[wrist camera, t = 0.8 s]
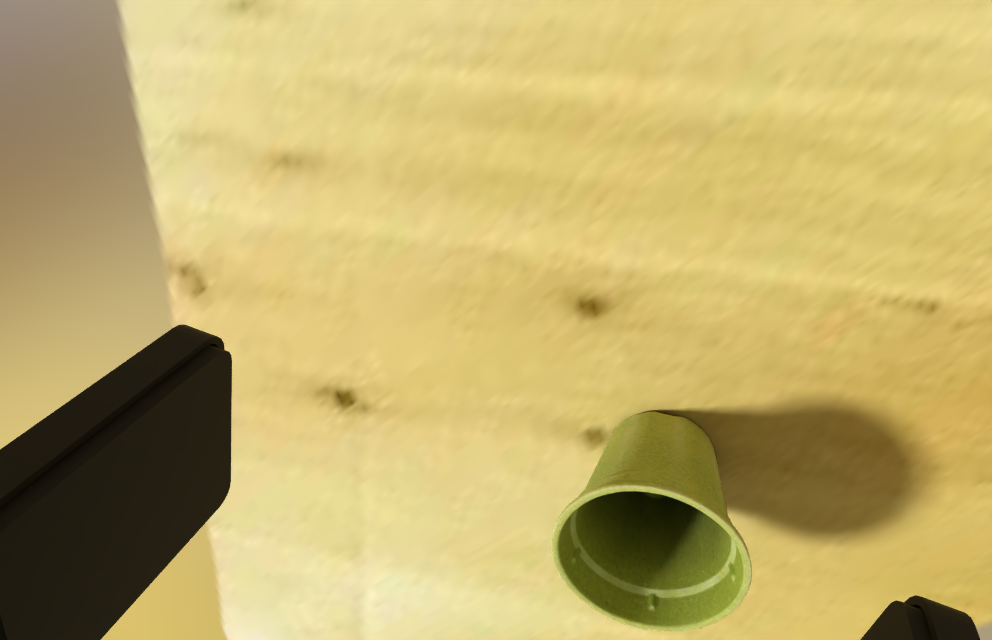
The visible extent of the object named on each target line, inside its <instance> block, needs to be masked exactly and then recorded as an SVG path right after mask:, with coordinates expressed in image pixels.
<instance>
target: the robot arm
mask: <svg viewBox="0 0 992 640" xmlns="http://www.w3.org/2000/svg"><path fill="white" fill-rule="evenodd" d="M231 395H232V358H231V354H230V353H229V352H228V351H225V350H224V343H223V341H222V339H221V338H219V337H217V336H214V335H211V334H209V333H206V332H203V331H200V330H198V329H195V328H192V327H190V326H187V325H178V326H176V327H174V328H172V329H171V330H170V331H168V332H167V333H165V334H164V335H163V336H161V337H160V338H158V339H157V340H155V341H154V342H153V343H151V344H150V345H148V346H147V347H145V348H144V349H143V350H141V351H140V352H138V353H137V354H136V355H134V356H133V357H131V358H130V359H128V360H127V361H126V362H124V363H123V364H121V365H120V366H119V367H117V368H116V369H114V370H113V371H111V372H110V373H108V374H107V375H106V376H104V377H103V378H101V379H100V380H99V381H97V382H96V383H94V384H93V385H91V386H90V387H89V388H87V389H86V390H84V391H83V392H81V393H80V394H79V395H77V396H76V397H74V398H73V399H71V400H70V401H69V402H68V403H66V404H65V405H63V406H62V407H60V408H59V409H57V410H56V411H54V412H53V413H52V414H50V415H49V416H47V417H46V418H45V419H43V420H42V421H40V422H39V423H37V424H36V425H34V426H33V427H32V428H30V429H29V430H27V431H26V432H25V433H23V434H22V435H20V436H19V437H17V438H16V439H15V440H13V441H12V442H10V443H9V444H8V445H6V446H5V447H3V448H2V449H0V640H100V639H102V637H103V636H104V635H105V634H106V633H107V632H108V631H109V629H110V628H111V627H112V626H113V625H114V624H115V623H116V622H117V620H119V618H120V617H121V616H122V615H123V614H124V613H125V612H126V611H127V610H128V608H129V607H130V606H131V605H132V604H133V603H134V602H135V601H136V599H137V598H138V597H139V596H140V595H141V594H142V593H143V592H144V591H145V589H146V588H147V587H148V586H149V585H150V584H151V583H152V582H153V581H154V579H155V578H156V577H157V576H158V575H159V574H160V573H161V572H162V570H163V569H164V568H165V567H166V566H167V565H168V564H169V563H170V562H171V560H172V559H173V558H174V557H175V556H176V555H177V553H179V551H180V550H181V549H182V548H183V547H184V546H185V545H186V544H187V543H188V542H189V540H190V539H191V538H192V537H193V536H194V535H195V534H196V533H197V531H198V530H199V529H200V528H201V527H202V526H203V525H204V524H205V523H206V521H207V520H208V519H209V518H210V517H211V516H212V515H213V514H214V513H215V511H216V510H217V509H218V508H219V507H220V506H221V504H222V503H223V501H224V500H225V498H226V496H227V494H228V491H229V488H230V483H231ZM861 640H980V638H979V635H978V632H977V629H976V626H975V624H974V622H973V620H972V619H971V617H969V616H968V615H967V614H966V613H964V612H961V611H959V610H956V609H953V608H950V607H948V606H945V605H942V604H940V603H937V602H934V601H931V600H929V599H926V598H923V597H920V596H913V597H910V598H909V599H908V600H906V601H905V602H904V603H903V602H900V601H894V602H892V603H891V604H890V605H889V606H888V607H887V608H886V609H885V610H884V612H883V613H882V614H881V615H880V617H879V618H878V619H877V620H876V621H875V623H874V624H873V625H872V626H871V628H870V629H869V630H868V631H867V632H866V634H865V635H864V636H863V637H862V639H861Z"/></svg>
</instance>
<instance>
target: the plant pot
mask: <svg viewBox="0 0 992 640" xmlns="http://www.w3.org/2000/svg"><path fill="white" fill-rule="evenodd" d="M552 556H553V560H554V563H555V566H556V568H557V570H558V572H559V574H560V576H561V577H562V579H563V581H564V582H565V584H566V585H567V586H568V588H569V589H570V590H571V591H572V592H573V593H574V594H575V595H576V596H578V597H579V598H580V599H581V600H582V601H583V602H584V603H586V604H587V605H588V606H590V607H591V608H593V609H594V610H596V611H598V612H600V613H601V614H603V615H605V616H607V617H609V618H611V619H613V620H615V621H618V622H620V623H623V624H626V625H629V626H633V627H636V628H640V629H644V630H652V631H671V632H675V631H689V630H694V629H699V628H702V627H704V626H708V625H711V624H714V623H716V622H718V621H720V620H721V619H723V618H724V617H726V616H728V615H729V614H731V613H732V612H733V611H734V610H735V609H736V608H737V607H738V606H739V605H740V604H741V602H742V601H743V599H744V597H745V596H746V594H747V592H748V590H749V586H750V583H751V577H752V567H751V561H750V557H749V553H748V550H747V547H746V545H745V543H744V541H743V539H742V537H741V536H740V534H739V533H738V531H737V530H736V529H735V527H734V526H733V525H732V523H731V521H730V519H729V517H728V514H727V509H726V504H725V500H724V494H723V489H722V485H721V480H720V475H719V469H718V464H717V460H716V455H715V451H714V448H713V445H712V443H711V441H710V439H709V437H708V436H707V435H706V433H705V432H704V431H703V430H702V429H701V428H700V427H698V426H697V425H696V424H695V423H693V422H691V421H690V420H688V419H686V418H684V417H678V416H671V415H666V414H662V413H658V412H644V413H640V414H637V415H634V416H632V417H630V418H628V419H626V420H625V421H623V422H622V423H621V424H619V425H618V426H617V427H616V428H615V430H614V431H613V433H612V435H611V436H610V439H609V441H608V443H607V445H606V447H605V449H604V451H603V454H602V456H601V458H600V460H599V462H598V464H597V466H596V468H595V470H594V472H593V474H592V476H591V478H590V480H589V482H588V485H587V487H586V489H585V490H584V491H583V492H582V493H581V494H580V495H579V497H578V498H576V499H575V500H573V501H572V502H571V503H570V504H569V505H568V506H567V507H566V508H565V509H564V511H563V512H562V514H561V515H560V517H559V518H558V520H557V523H556V525H555V528H554V531H553V535H552Z"/></svg>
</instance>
